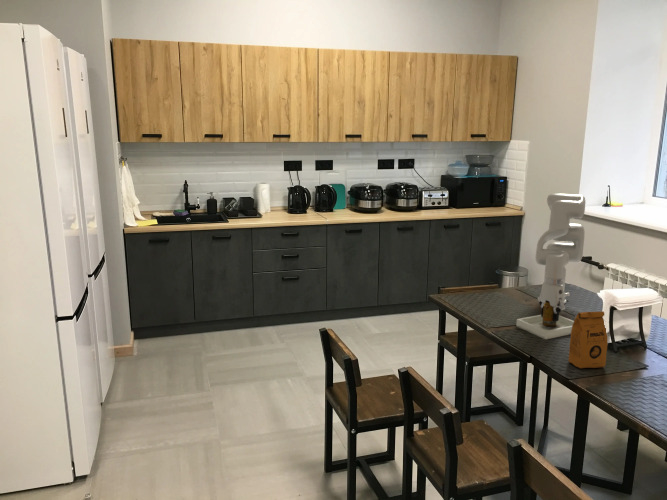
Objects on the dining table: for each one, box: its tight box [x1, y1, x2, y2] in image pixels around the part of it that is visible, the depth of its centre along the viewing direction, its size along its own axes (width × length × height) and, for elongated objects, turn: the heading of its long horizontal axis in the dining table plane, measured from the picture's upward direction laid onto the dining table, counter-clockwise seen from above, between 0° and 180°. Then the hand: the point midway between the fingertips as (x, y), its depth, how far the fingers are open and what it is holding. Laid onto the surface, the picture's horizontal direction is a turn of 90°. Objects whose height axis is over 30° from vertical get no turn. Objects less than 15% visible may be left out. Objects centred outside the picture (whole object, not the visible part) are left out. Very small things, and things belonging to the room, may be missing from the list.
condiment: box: [539, 300, 563, 329], centre depth 258 cm, size 7×8×12 cm
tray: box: [515, 314, 574, 340], centre depth 260 cm, size 22×18×4 cm
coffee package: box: [568, 311, 609, 369], centre depth 219 cm, size 10×12×22 cm
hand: (549, 318), depth 260 cm, fingers closed on condiment, 6 cm apart
